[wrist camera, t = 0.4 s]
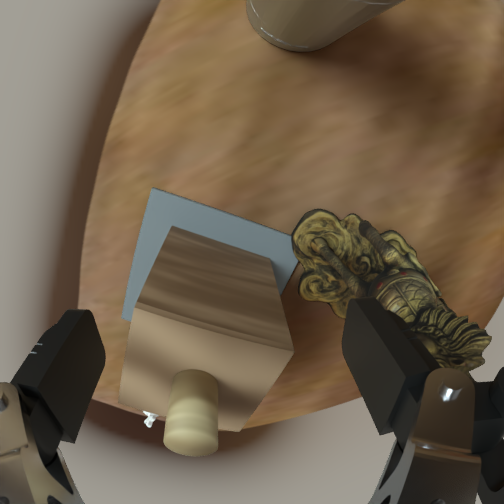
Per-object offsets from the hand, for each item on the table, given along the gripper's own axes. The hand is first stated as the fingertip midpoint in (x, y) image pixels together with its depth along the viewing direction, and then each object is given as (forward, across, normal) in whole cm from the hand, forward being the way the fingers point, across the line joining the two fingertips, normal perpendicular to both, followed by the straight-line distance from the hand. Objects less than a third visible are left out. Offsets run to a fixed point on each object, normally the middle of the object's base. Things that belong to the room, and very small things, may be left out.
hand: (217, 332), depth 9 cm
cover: (+21, +2, +9) cm, 23 cm away
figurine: (+21, -16, +11) cm, 29 cm away
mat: (+21, +2, +9) cm, 23 cm away
